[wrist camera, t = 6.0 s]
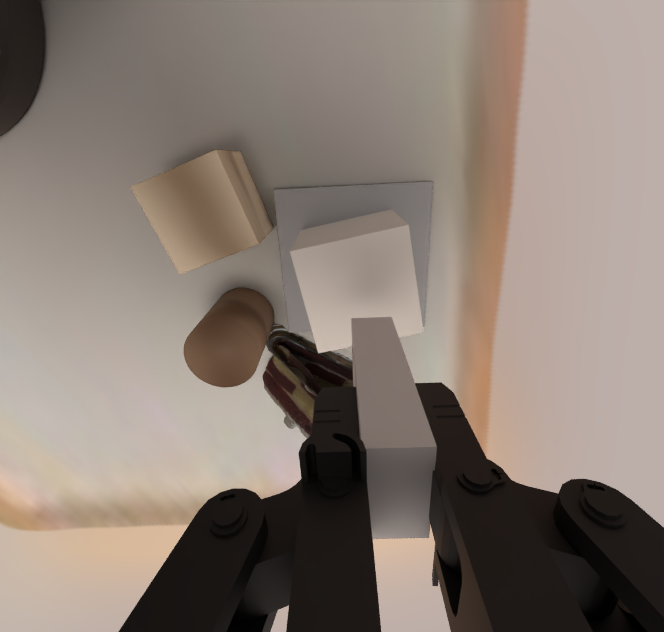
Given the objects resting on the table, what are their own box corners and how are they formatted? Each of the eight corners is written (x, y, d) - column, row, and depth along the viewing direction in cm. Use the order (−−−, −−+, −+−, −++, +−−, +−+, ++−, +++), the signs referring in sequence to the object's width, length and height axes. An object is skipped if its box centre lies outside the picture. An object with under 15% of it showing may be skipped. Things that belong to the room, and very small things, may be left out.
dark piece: (230, 380, 30) (297, 524, 24) (256, 326, 25) (345, 486, 20) (317, 358, 36) (386, 468, 31) (350, 311, 32) (436, 430, 26)
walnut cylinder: (221, 343, 28) (192, 388, 22) (210, 289, 26) (175, 324, 20) (277, 340, 27) (262, 385, 22) (270, 286, 26) (252, 320, 20)
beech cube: (208, 253, 25) (179, 274, 20) (171, 181, 23) (130, 187, 18) (273, 227, 24) (258, 243, 19) (240, 151, 22) (215, 149, 18)
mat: (289, 328, 27) (288, 332, 26) (274, 189, 23) (273, 189, 22) (422, 323, 27) (424, 326, 26) (430, 181, 23) (433, 181, 22)
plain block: (322, 311, 26) (318, 353, 20) (300, 230, 23) (289, 251, 18) (404, 294, 25) (423, 332, 20) (391, 209, 23) (408, 224, 17)
